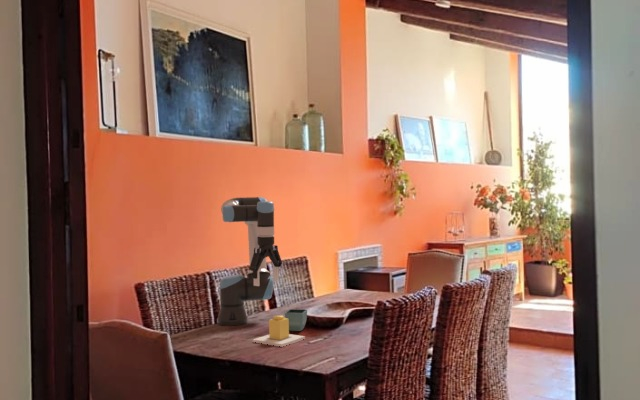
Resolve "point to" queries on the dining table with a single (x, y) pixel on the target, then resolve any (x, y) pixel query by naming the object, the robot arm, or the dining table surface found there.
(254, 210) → the robot arm
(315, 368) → the dining table surface
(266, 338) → the post board
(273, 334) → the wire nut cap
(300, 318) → the flower pot
